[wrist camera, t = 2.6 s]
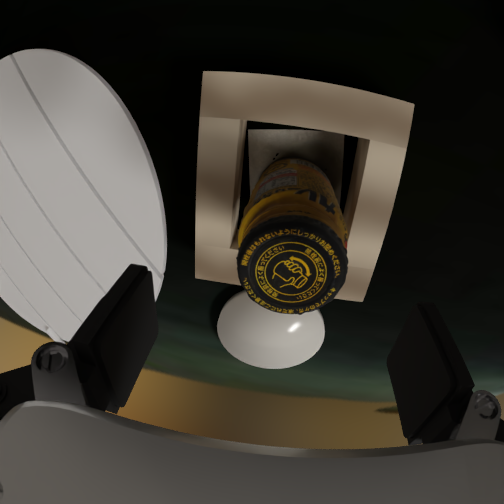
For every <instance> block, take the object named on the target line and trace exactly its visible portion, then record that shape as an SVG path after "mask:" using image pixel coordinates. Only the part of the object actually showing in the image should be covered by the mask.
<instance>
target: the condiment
mask: <svg viewBox="0 0 504 504" xmlns="http://www.w3.org/2000/svg"><path fill="white" fill-rule="evenodd" d="M248 144H249V174H250V200H249V203H248V204H247V206H246V207H245V209H244V215H243V218H242V220H241V224H240V227H239V231H238V245H239V248H238V254H237V257H236V259H237V272H238V278H239V281H240V284H241V286H242V287H243V288H244V289H245V291H246V292H247V294H248V297H249V298H250V299H251V300H252V301H254V302H255V303H257V304H258V305H260V306H262V307H264V308H266V309H268V310H270V311H273V312H277V313H282V314H298V315H302V314H303V313H306V312H312V311H315V310H317V309H319V308H320V307H322V306H324V305H325V304H327V303H328V302H331V301H332V300H333V299H334V297H335V296H336V295H337V294H338V292H339V291H340V289H341V288H342V286H343V285H344V283H345V280H346V275H347V272H348V266H347V265H348V263H349V261H348V257H347V240H348V232H347V227H346V223H345V221H344V218H343V215H342V212H341V209H340V197H341V185H342V170H343V152H344V134H340V133H335V132H329V131H313V130H287V129H286V130H272V129H265V130H248ZM277 153H279V154H278V156H276V154H277ZM273 158H275V160H273ZM325 169H327V170H325Z"/></svg>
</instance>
